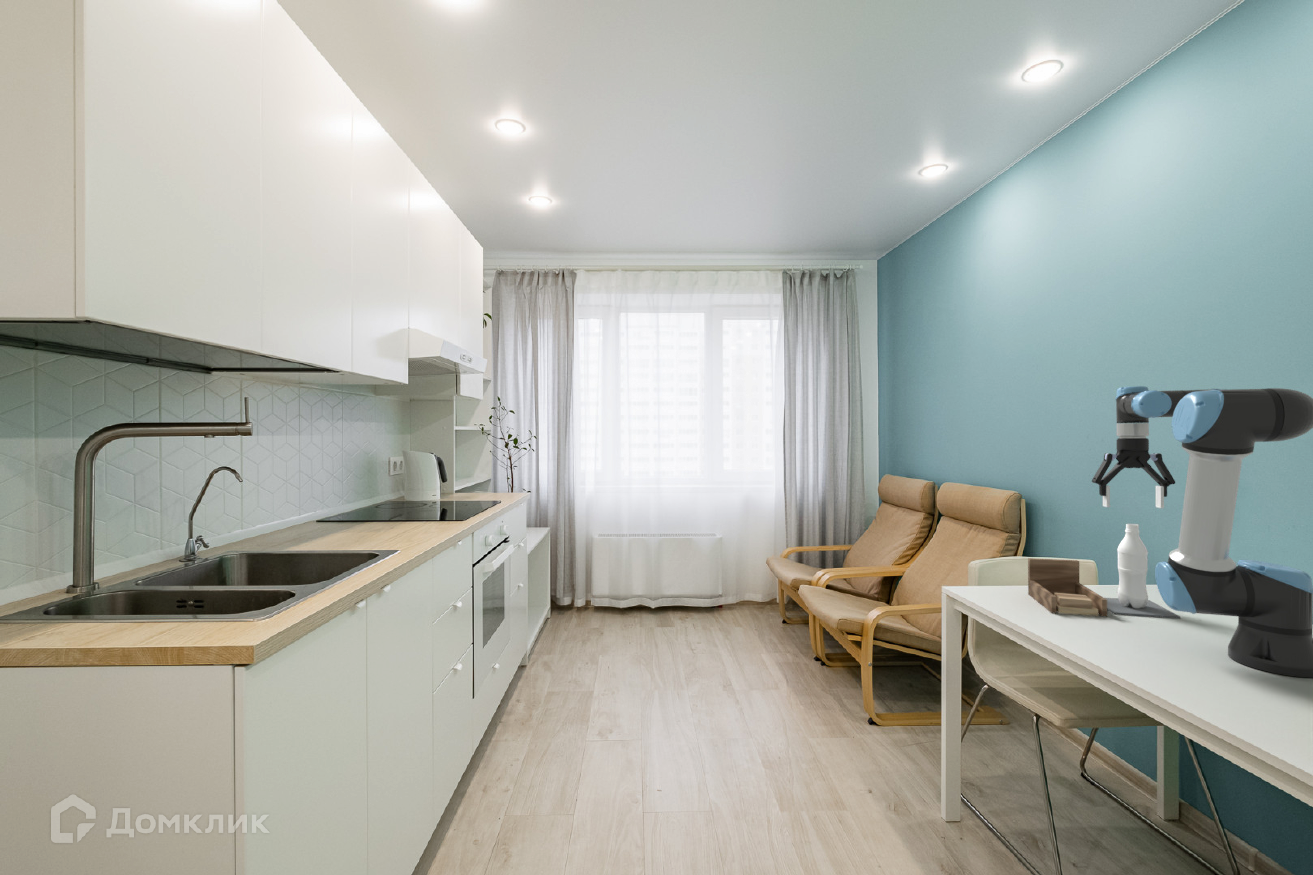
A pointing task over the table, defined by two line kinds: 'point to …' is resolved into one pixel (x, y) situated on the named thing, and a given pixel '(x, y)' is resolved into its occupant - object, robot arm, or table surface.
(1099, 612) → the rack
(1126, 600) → the water bottle
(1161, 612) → the mat
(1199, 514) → the robot arm
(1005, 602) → the table surface
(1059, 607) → the offcut lower
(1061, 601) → the offcut upper
